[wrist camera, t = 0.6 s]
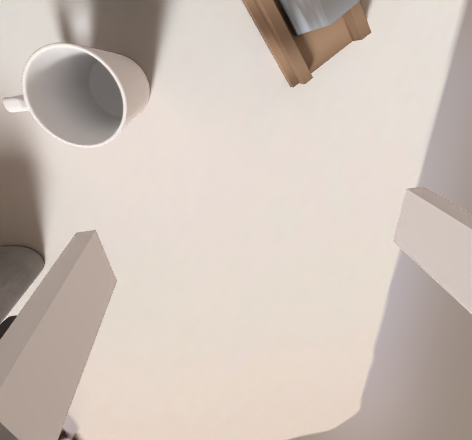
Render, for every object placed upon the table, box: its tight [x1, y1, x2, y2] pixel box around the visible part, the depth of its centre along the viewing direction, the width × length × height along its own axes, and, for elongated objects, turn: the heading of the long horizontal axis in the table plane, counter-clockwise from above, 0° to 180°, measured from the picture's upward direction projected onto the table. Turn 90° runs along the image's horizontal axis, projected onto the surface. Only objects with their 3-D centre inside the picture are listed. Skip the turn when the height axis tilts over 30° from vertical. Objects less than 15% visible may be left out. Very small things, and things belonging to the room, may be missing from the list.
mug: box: [3, 43, 150, 147], centre depth 24 cm, size 10×7×12 cm, turn 94°
